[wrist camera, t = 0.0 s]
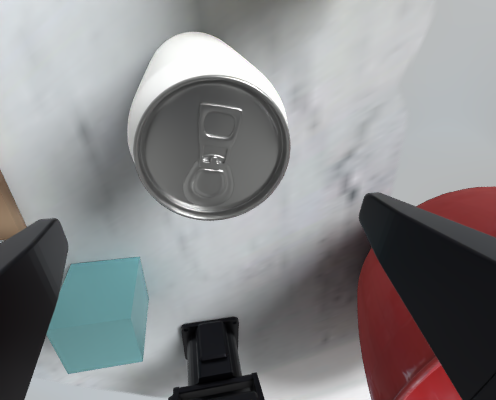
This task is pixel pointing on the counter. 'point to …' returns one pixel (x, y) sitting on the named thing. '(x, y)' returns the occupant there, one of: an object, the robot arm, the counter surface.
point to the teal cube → (100, 315)
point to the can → (207, 130)
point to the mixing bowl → (400, 320)
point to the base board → (8, 213)
